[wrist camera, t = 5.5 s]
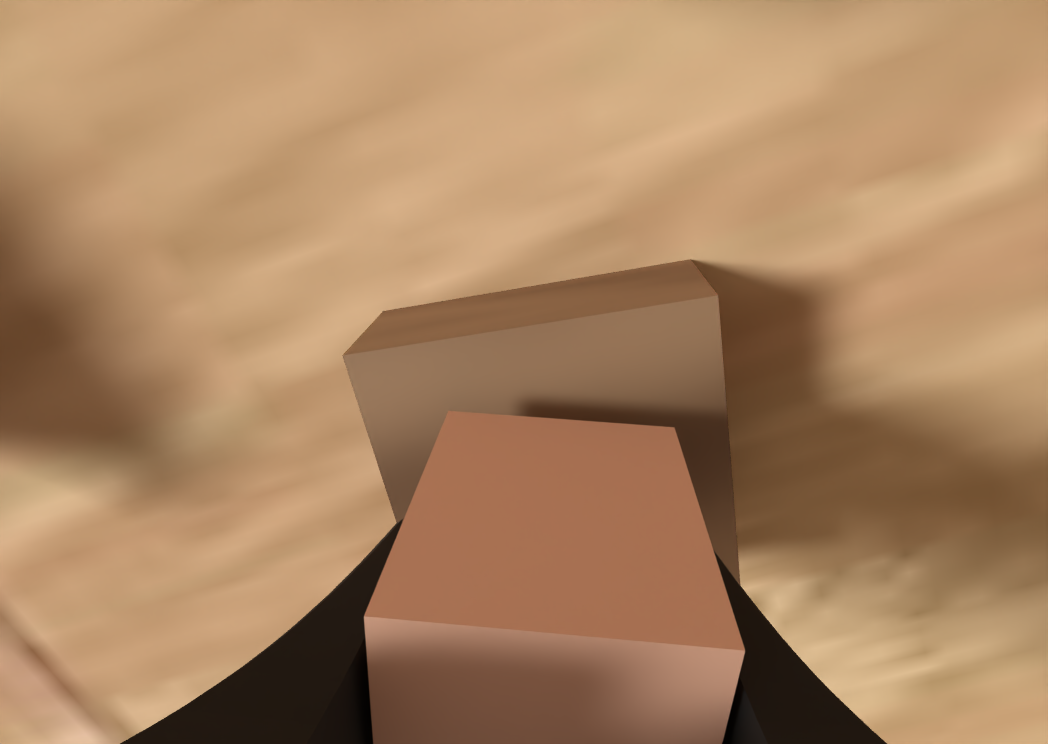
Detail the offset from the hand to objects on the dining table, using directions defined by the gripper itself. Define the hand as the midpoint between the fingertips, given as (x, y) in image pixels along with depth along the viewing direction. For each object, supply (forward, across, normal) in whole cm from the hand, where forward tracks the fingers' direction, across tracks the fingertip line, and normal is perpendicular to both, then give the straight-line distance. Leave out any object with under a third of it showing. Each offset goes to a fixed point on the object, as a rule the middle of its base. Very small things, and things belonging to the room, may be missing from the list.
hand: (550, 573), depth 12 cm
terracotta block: (+2, 0, 0) cm, 2 cm away
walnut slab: (+6, 0, 0) cm, 6 cm away
